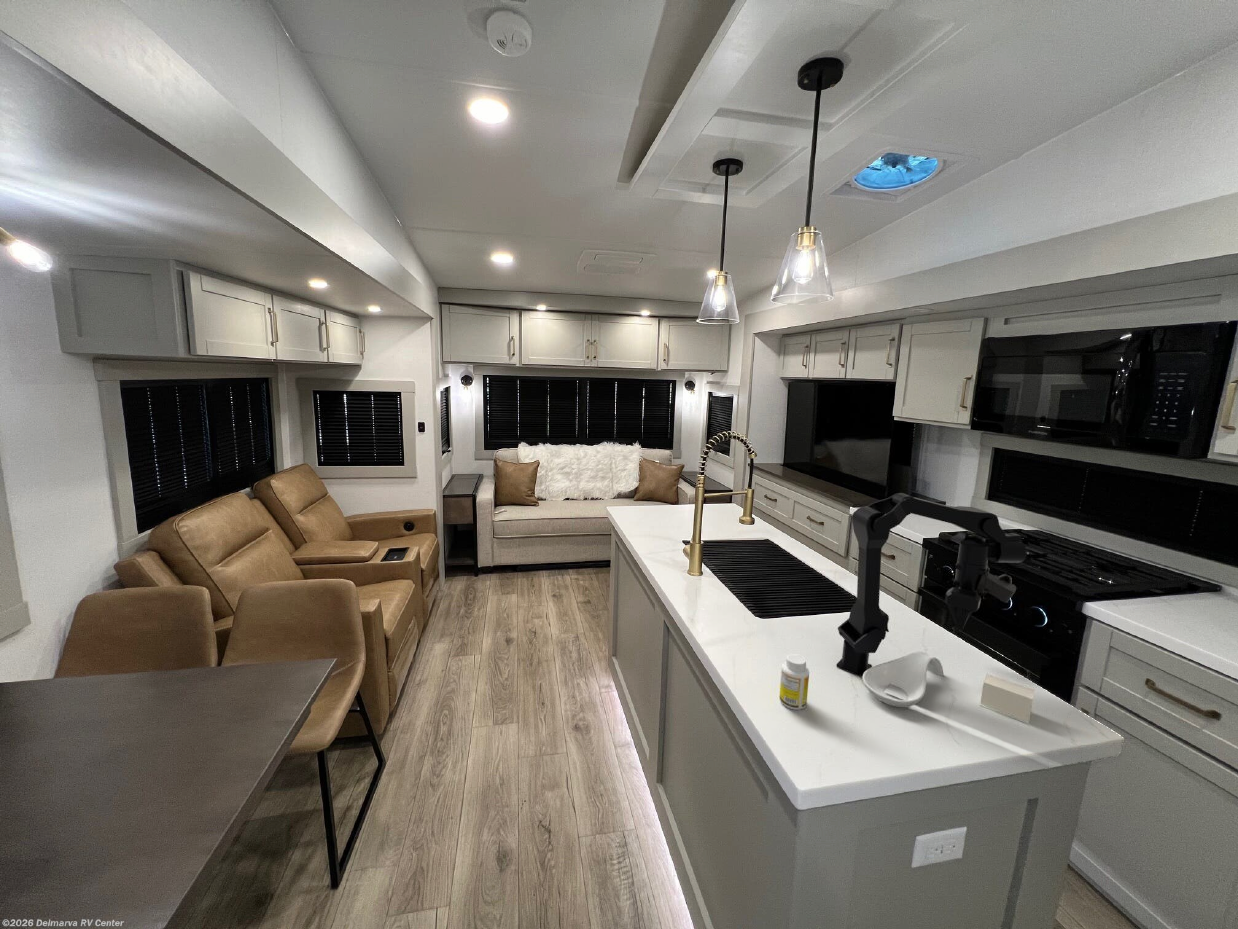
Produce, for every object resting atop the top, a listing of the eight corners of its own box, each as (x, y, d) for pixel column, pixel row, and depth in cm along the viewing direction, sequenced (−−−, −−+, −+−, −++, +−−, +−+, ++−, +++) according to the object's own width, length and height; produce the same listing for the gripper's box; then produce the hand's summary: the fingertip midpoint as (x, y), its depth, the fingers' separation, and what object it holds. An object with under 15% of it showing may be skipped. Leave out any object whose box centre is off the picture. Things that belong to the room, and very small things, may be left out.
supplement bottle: (798, 694, 106) (802, 651, 105) (811, 710, 101) (815, 665, 99) (774, 695, 106) (778, 652, 104) (785, 711, 100) (789, 666, 99)
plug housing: (1029, 721, 97) (1033, 699, 96) (980, 703, 103) (983, 682, 102) (1030, 711, 100) (1034, 689, 100) (983, 694, 106) (986, 673, 105)
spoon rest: (903, 723, 98) (907, 691, 97) (850, 692, 108) (853, 663, 107) (959, 688, 110) (963, 659, 109) (906, 663, 120) (909, 636, 119)
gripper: (1011, 582, 101) (1000, 650, 104) (1020, 560, 115) (1010, 621, 117) (948, 567, 109) (940, 631, 111) (963, 549, 122) (955, 606, 125)
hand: (963, 623), depth 116 cm, fingers open, 9 cm apart
